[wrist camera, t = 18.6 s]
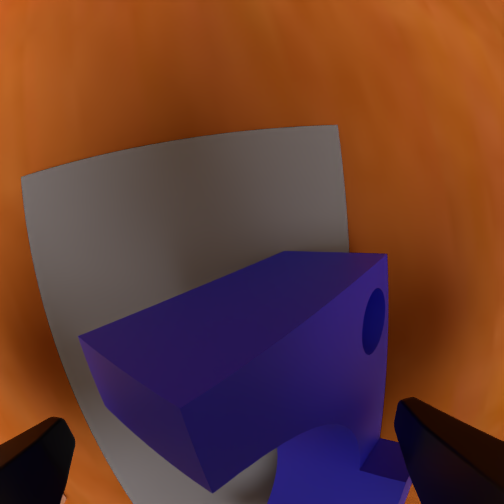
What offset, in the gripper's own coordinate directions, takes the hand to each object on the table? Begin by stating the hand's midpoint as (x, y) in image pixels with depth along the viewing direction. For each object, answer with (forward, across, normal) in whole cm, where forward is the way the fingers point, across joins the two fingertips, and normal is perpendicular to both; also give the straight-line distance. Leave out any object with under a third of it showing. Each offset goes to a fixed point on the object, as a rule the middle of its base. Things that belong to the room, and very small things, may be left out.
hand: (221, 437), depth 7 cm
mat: (+3, +1, +1) cm, 3 cm away
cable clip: (+2, -4, +2) cm, 5 cm away
